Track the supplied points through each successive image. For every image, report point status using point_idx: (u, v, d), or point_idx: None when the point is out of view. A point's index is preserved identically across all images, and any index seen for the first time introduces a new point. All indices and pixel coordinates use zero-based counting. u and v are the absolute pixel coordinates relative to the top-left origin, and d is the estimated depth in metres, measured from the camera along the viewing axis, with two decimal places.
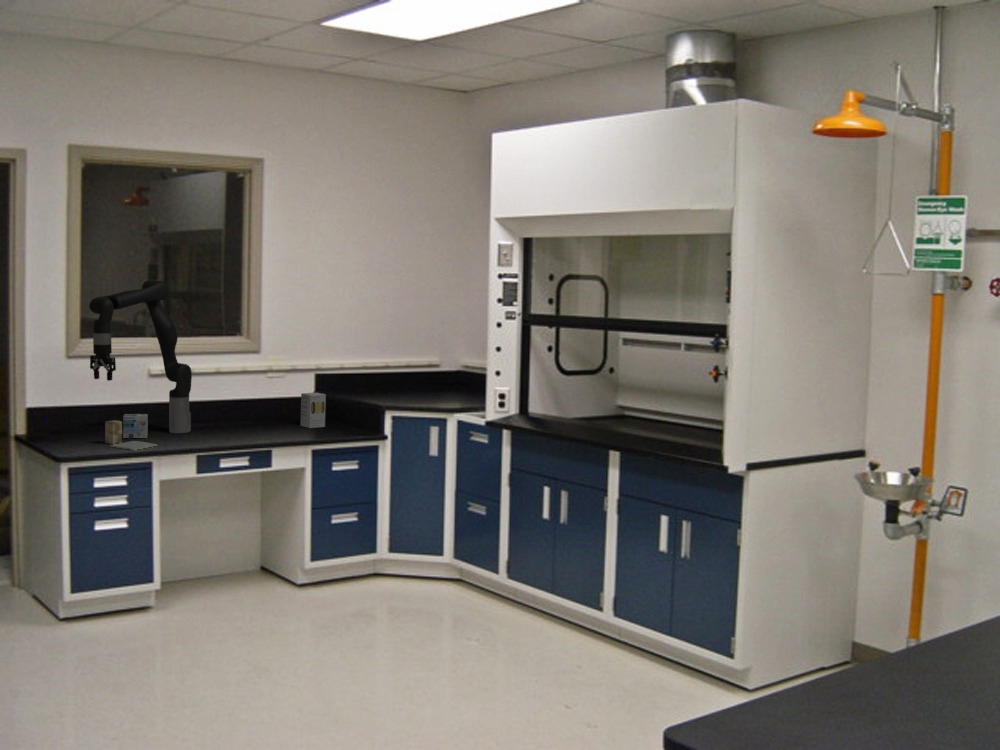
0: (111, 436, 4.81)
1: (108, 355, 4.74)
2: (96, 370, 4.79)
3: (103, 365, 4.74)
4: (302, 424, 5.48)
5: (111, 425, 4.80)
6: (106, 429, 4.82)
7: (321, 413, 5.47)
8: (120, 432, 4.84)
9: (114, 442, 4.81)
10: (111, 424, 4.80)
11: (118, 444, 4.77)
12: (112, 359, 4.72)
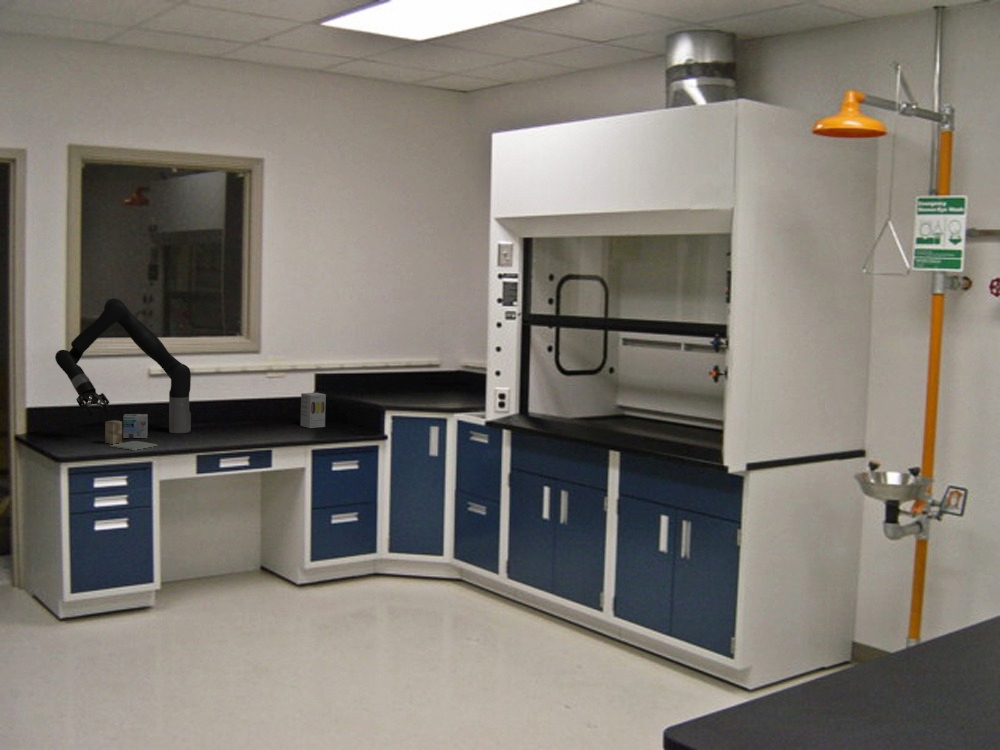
0: (111, 436, 4.81)
1: (82, 395, 4.87)
2: (103, 406, 4.91)
3: None
4: (302, 424, 5.48)
5: (111, 425, 4.80)
6: (106, 429, 4.82)
7: (321, 413, 5.47)
8: (120, 432, 4.84)
9: (114, 442, 4.81)
10: (111, 424, 4.80)
11: (118, 444, 4.77)
12: (77, 399, 4.84)
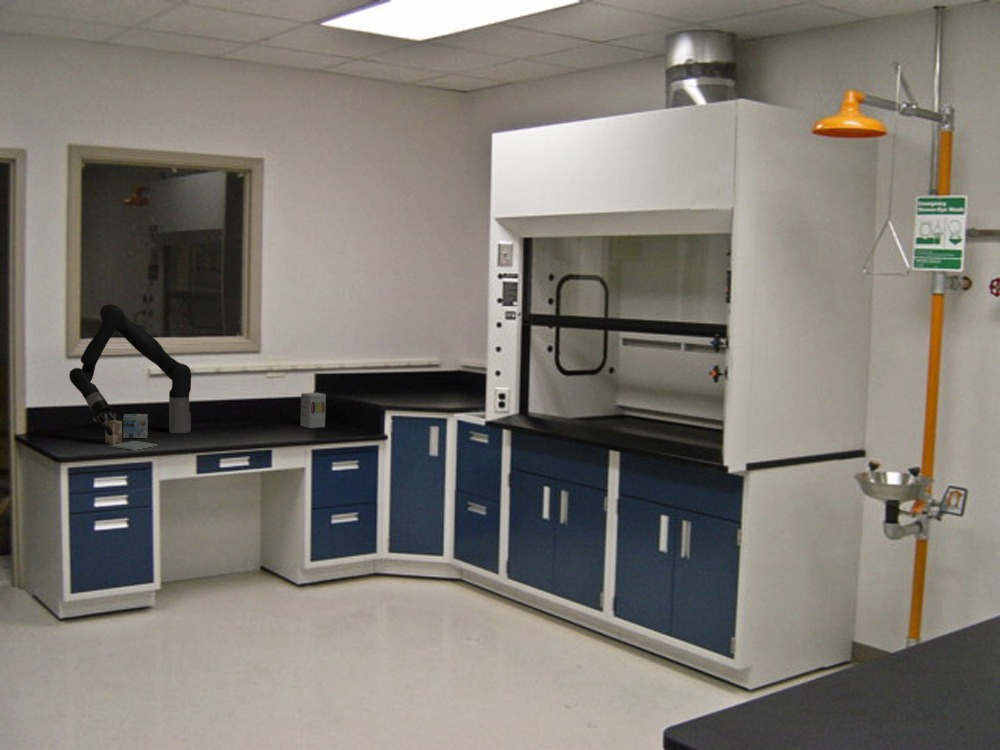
0: (111, 435, 4.81)
1: (96, 414, 4.83)
2: None
3: (103, 424, 4.84)
4: (302, 424, 5.48)
5: (111, 425, 4.80)
6: None
7: (321, 413, 5.47)
8: (120, 432, 4.84)
9: (114, 442, 4.81)
10: (111, 424, 4.80)
11: (118, 444, 4.77)
12: (94, 419, 4.79)
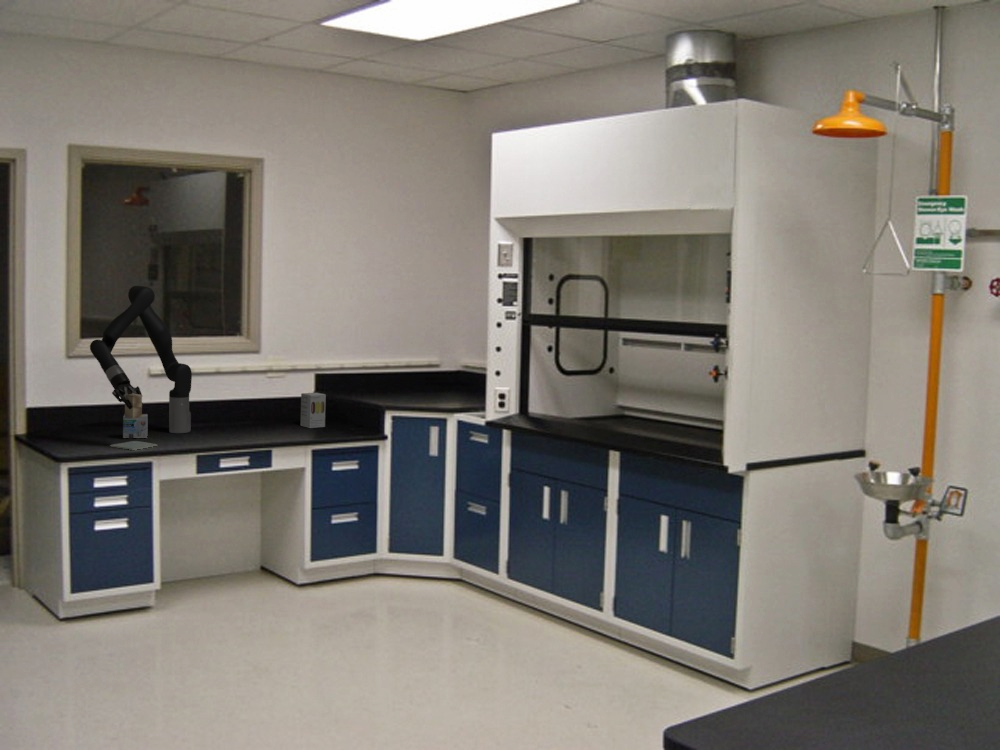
0: (131, 409, 4.73)
1: (116, 387, 4.75)
2: None
3: None
4: (302, 424, 5.48)
5: (131, 398, 4.72)
6: None
7: (321, 413, 5.47)
8: (140, 405, 4.76)
9: (134, 416, 4.74)
10: (131, 397, 4.72)
11: (118, 444, 4.77)
12: (113, 393, 4.72)
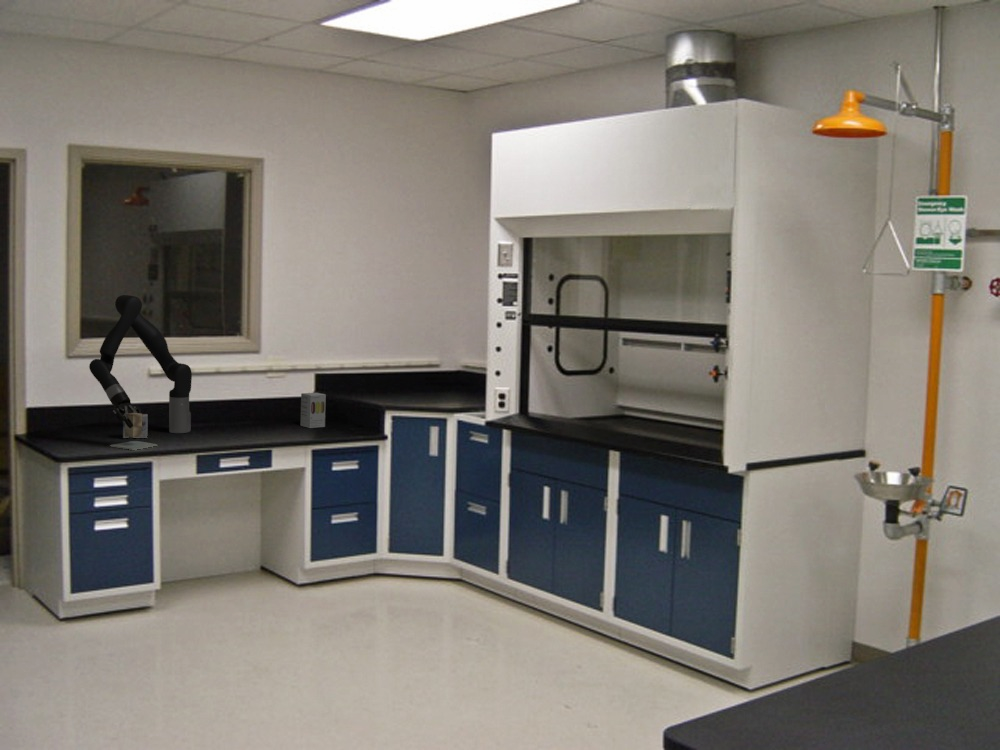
0: (131, 428, 4.74)
1: (116, 406, 4.76)
2: None
3: None
4: (302, 424, 5.48)
5: (132, 417, 4.73)
6: None
7: (321, 413, 5.47)
8: (140, 425, 4.77)
9: (134, 435, 4.74)
10: (131, 416, 4.73)
11: (118, 444, 4.77)
12: (114, 412, 4.72)
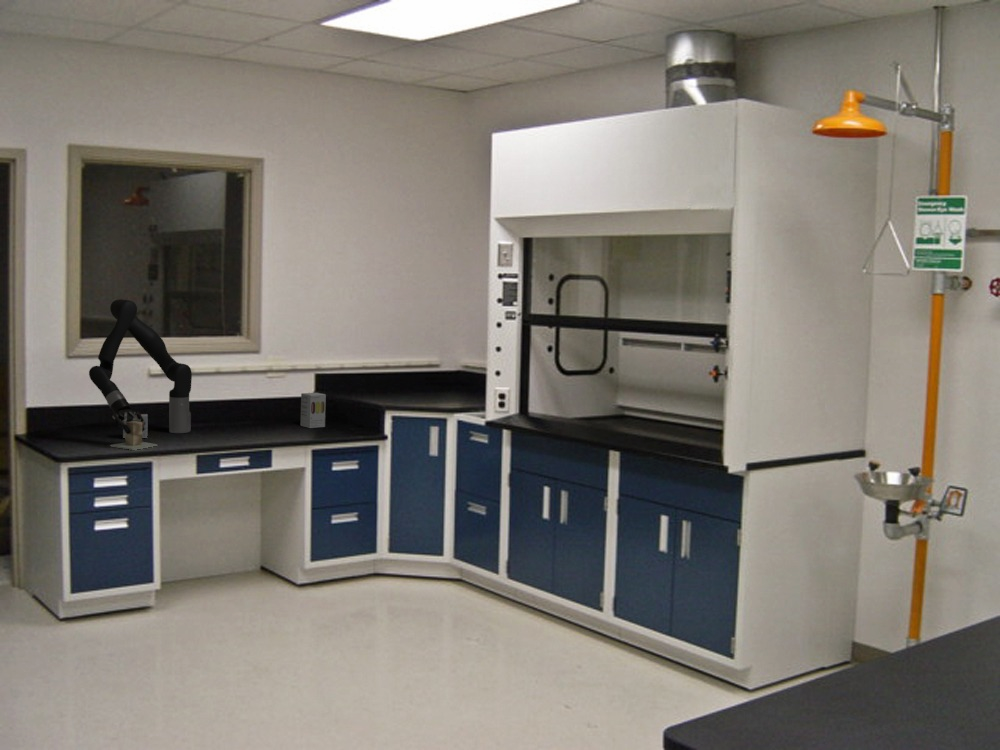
0: (132, 437, 4.74)
1: (117, 412, 4.76)
2: None
3: None
4: (302, 424, 5.48)
5: (132, 426, 4.74)
6: None
7: (321, 413, 5.47)
8: (140, 433, 4.77)
9: (134, 443, 4.75)
10: (131, 425, 4.74)
11: (118, 444, 4.77)
12: (113, 417, 4.73)
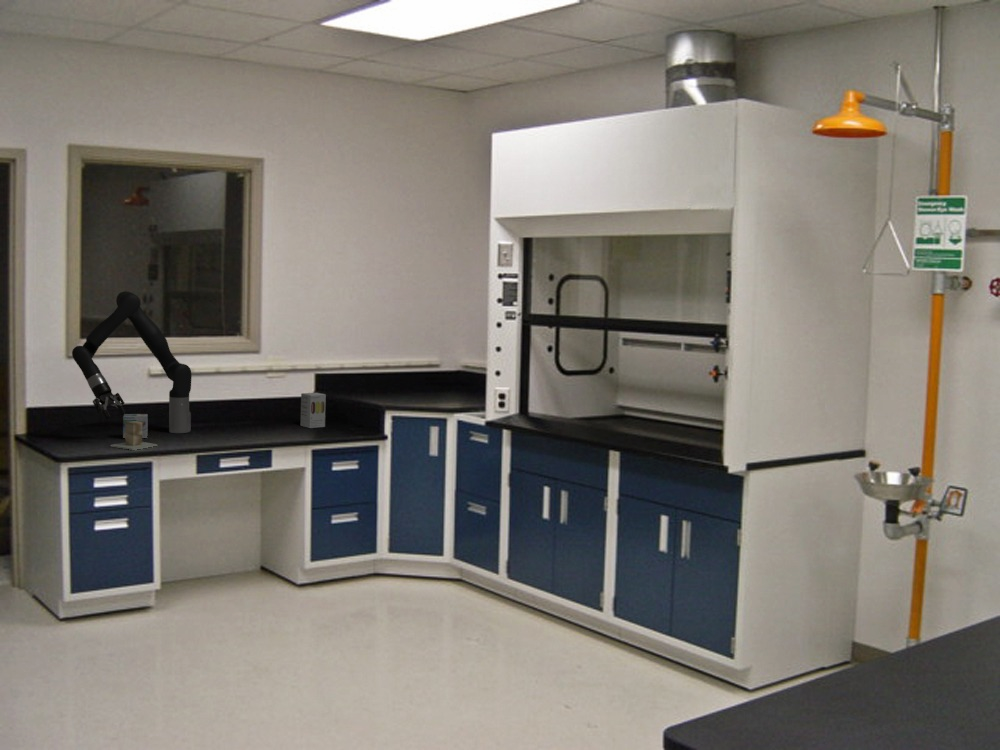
0: (132, 437, 4.74)
1: (98, 396, 4.83)
2: (118, 407, 4.89)
3: None
4: (302, 424, 5.48)
5: (132, 426, 4.74)
6: (126, 430, 4.76)
7: (321, 413, 5.47)
8: (140, 433, 4.77)
9: (134, 443, 4.75)
10: (131, 425, 4.74)
11: (118, 444, 4.77)
12: (94, 401, 4.80)
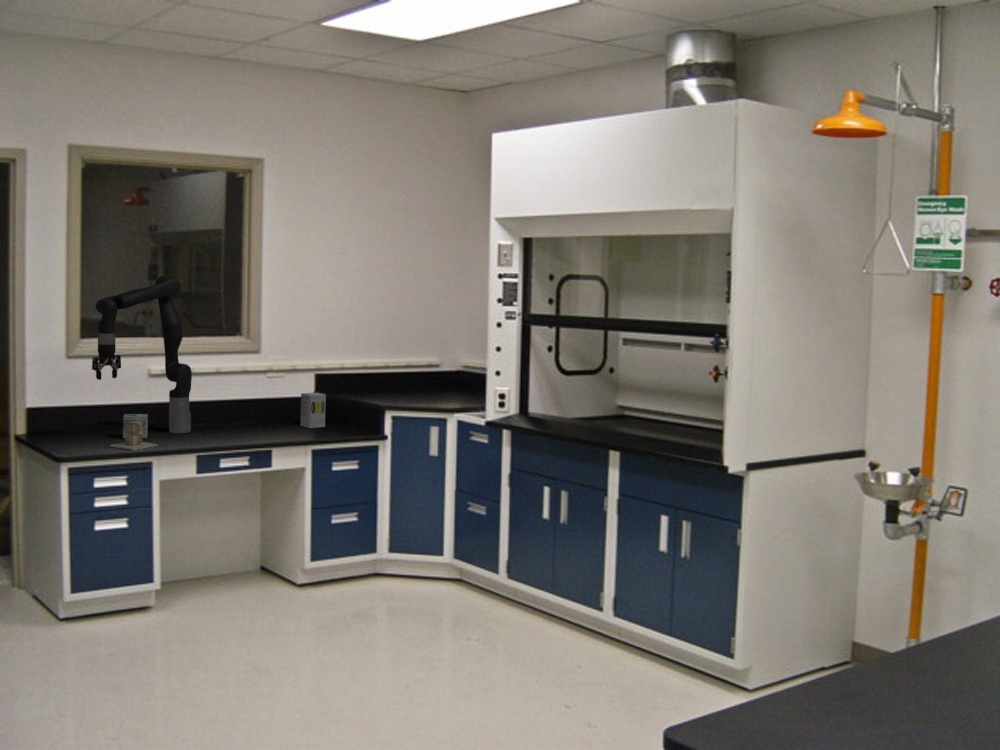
0: (132, 437, 4.74)
1: (100, 355, 4.84)
2: (113, 369, 4.92)
3: None
4: (302, 424, 5.48)
5: (132, 426, 4.74)
6: (126, 430, 4.76)
7: (321, 413, 5.47)
8: (140, 433, 4.77)
9: (134, 443, 4.75)
10: (131, 425, 4.74)
11: (118, 444, 4.77)
12: (93, 358, 4.82)
